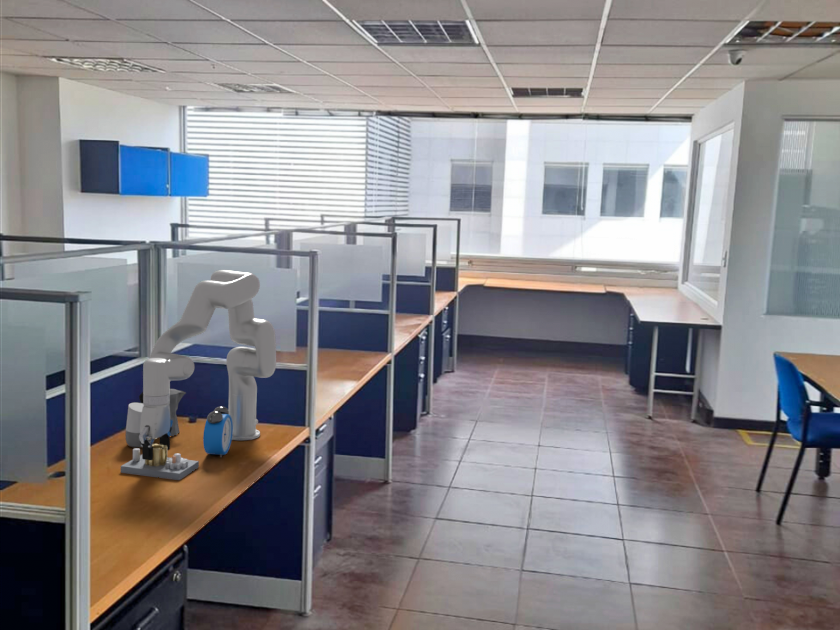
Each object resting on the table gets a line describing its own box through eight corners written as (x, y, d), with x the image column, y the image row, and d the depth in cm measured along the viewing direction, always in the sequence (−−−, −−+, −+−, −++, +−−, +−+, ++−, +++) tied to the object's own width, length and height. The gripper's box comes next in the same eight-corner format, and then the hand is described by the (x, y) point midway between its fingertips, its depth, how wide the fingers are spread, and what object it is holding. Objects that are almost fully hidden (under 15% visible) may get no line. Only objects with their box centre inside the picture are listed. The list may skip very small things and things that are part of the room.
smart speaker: (149, 450, 254) (149, 408, 252) (120, 449, 254) (120, 407, 253) (159, 442, 264) (159, 401, 262) (132, 440, 264) (132, 400, 262)
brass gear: (152, 458, 241) (152, 442, 240) (171, 460, 240) (171, 445, 239) (140, 464, 235) (140, 448, 234) (160, 467, 234) (160, 451, 233)
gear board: (142, 460, 245) (142, 443, 244) (198, 467, 241) (198, 450, 241) (120, 472, 233) (120, 454, 232) (179, 480, 230) (179, 462, 229)
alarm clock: (221, 460, 248) (221, 414, 246) (201, 459, 249) (202, 413, 247) (232, 448, 261) (233, 404, 259) (214, 447, 262) (215, 403, 260)
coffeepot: (184, 429, 280) (185, 379, 277) (186, 436, 271) (186, 386, 269) (138, 431, 274) (139, 380, 272) (138, 439, 266) (139, 387, 263)
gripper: (160, 391, 244) (159, 444, 246) (129, 405, 227) (129, 462, 229) (182, 394, 242) (181, 447, 245) (152, 407, 225) (152, 465, 228)
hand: (156, 454), depth 237 cm, fingers open, 9 cm apart
